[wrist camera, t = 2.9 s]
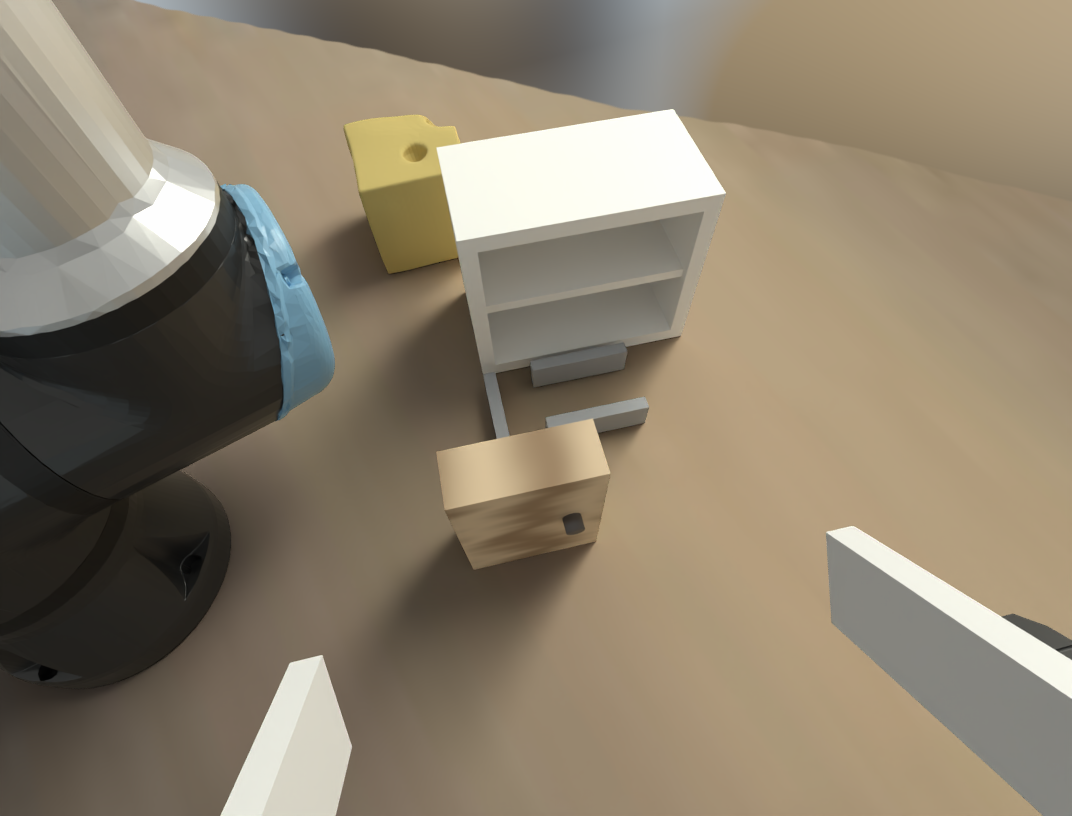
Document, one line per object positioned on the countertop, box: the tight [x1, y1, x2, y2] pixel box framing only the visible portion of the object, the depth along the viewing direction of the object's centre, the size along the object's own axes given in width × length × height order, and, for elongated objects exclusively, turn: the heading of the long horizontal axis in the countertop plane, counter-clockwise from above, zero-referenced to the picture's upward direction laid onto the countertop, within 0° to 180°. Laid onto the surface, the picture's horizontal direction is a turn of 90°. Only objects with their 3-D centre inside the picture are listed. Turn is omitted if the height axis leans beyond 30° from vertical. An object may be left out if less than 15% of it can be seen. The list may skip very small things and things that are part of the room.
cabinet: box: [437, 109, 726, 439], centre depth 42 cm, size 18×18×15 cm
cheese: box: [344, 115, 461, 274], centre depth 53 cm, size 10×11×10 cm
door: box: [436, 419, 611, 570], centre depth 35 cm, size 9×4×12 cm, turn 103°
